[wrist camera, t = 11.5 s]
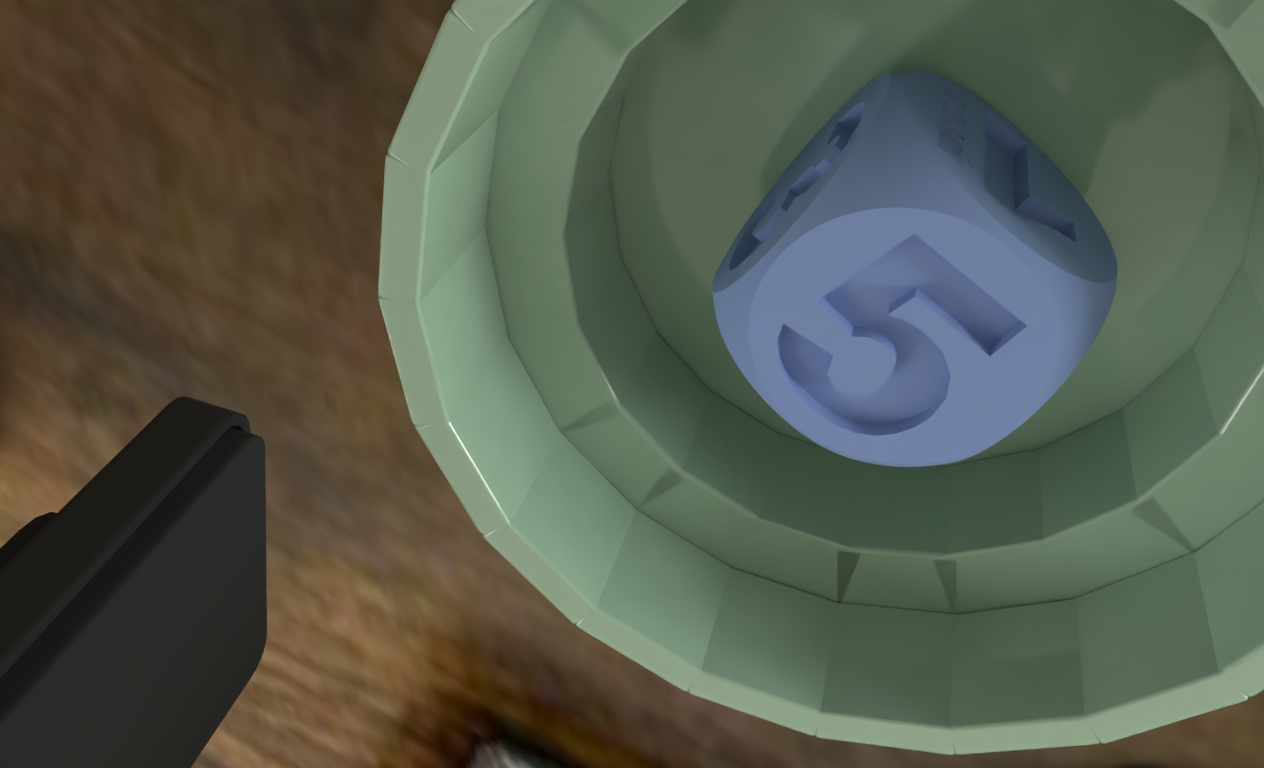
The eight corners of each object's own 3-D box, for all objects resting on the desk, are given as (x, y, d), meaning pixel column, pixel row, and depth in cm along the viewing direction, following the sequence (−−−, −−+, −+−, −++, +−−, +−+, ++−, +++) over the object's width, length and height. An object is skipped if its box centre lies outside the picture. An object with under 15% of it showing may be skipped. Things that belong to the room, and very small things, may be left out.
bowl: (485, 396, 23) (360, 581, 18) (587, -383, 15) (412, -389, 10) (1137, 606, 21) (1173, 863, 17) (1632, -136, 13) (1942, -20, 9)
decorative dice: (1111, 204, 17) (1138, 342, 13) (920, 367, 19) (904, 518, 16) (907, 31, 16) (883, 131, 13) (736, 220, 18) (680, 346, 15)
